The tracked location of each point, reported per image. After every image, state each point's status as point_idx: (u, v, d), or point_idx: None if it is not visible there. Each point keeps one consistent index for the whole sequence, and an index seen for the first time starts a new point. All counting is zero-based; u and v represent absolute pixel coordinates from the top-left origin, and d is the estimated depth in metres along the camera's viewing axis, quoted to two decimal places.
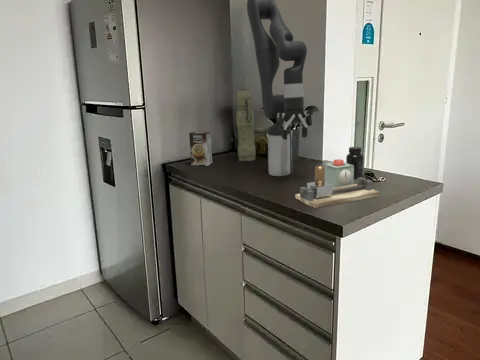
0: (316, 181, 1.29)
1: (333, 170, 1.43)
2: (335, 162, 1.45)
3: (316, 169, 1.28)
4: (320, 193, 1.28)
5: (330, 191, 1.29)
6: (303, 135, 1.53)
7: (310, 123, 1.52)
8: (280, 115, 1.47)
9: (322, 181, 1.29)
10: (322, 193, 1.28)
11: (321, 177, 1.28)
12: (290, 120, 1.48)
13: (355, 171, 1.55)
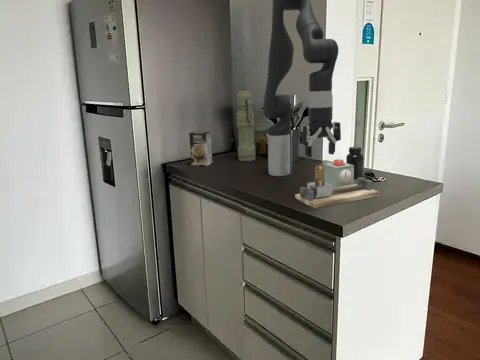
0: (316, 181, 1.29)
1: (333, 170, 1.43)
2: (335, 162, 1.45)
3: (316, 169, 1.28)
4: (320, 193, 1.28)
5: (330, 191, 1.29)
6: (330, 152, 1.29)
7: (339, 137, 1.27)
8: (304, 128, 1.22)
9: (322, 181, 1.29)
10: (322, 193, 1.28)
11: (321, 177, 1.28)
12: (316, 134, 1.23)
13: (355, 171, 1.55)
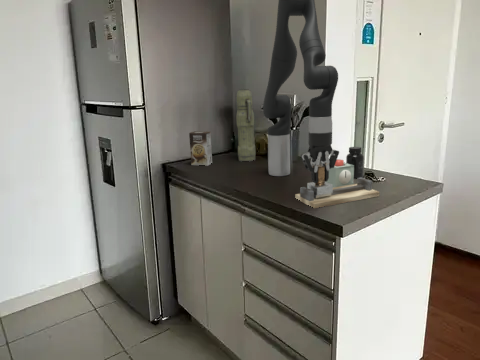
0: None
1: (333, 170, 1.43)
2: None
3: None
4: (320, 193, 1.28)
5: (330, 191, 1.29)
6: None
7: (332, 165, 1.29)
8: (305, 158, 1.25)
9: (322, 181, 1.29)
10: (322, 193, 1.28)
11: (321, 177, 1.28)
12: (318, 160, 1.26)
13: (355, 171, 1.55)
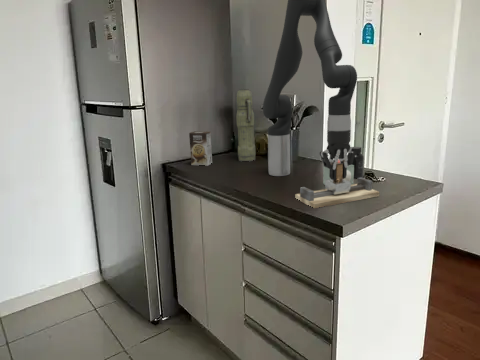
0: None
1: None
2: None
3: None
4: (338, 190, 1.30)
5: (348, 188, 1.31)
6: None
7: (350, 162, 1.31)
8: (324, 155, 1.27)
9: (340, 178, 1.31)
10: (340, 190, 1.30)
11: (339, 174, 1.31)
12: (337, 157, 1.28)
13: (355, 171, 1.55)
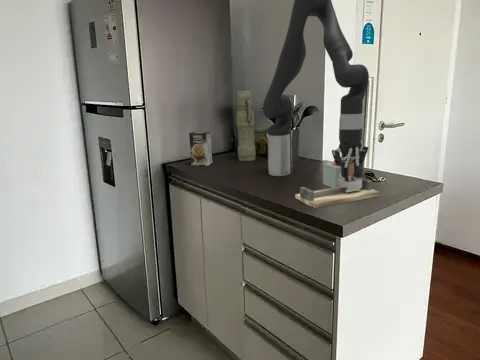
0: None
1: (333, 170, 1.43)
2: None
3: None
4: (350, 188, 1.32)
5: (360, 186, 1.33)
6: None
7: (362, 161, 1.33)
8: (337, 153, 1.29)
9: (352, 176, 1.33)
10: (352, 188, 1.32)
11: (351, 172, 1.32)
12: (348, 155, 1.30)
13: None
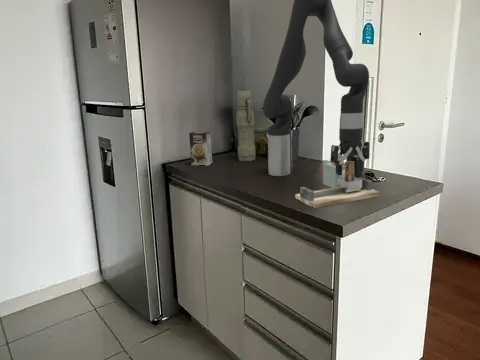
0: (346, 176, 1.33)
1: (333, 170, 1.43)
2: None
3: (346, 164, 1.32)
4: (350, 188, 1.32)
5: (360, 186, 1.33)
6: (359, 169, 1.35)
7: (367, 156, 1.34)
8: (336, 148, 1.28)
9: (352, 176, 1.33)
10: (352, 188, 1.32)
11: (351, 172, 1.32)
12: (347, 154, 1.30)
13: (355, 171, 1.55)
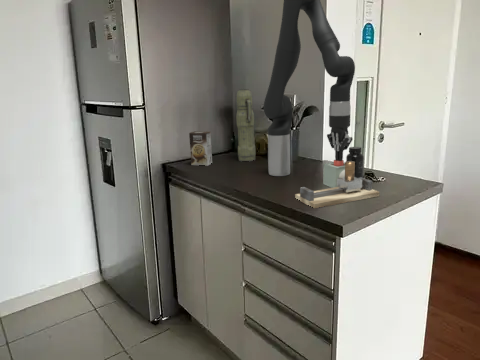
0: (346, 176, 1.33)
1: (333, 170, 1.43)
2: (335, 162, 1.45)
3: (346, 164, 1.32)
4: (350, 188, 1.32)
5: (360, 186, 1.33)
6: None
7: (340, 147, 1.41)
8: (327, 136, 1.48)
9: (352, 176, 1.33)
10: (352, 188, 1.32)
11: (351, 172, 1.32)
12: (333, 139, 1.44)
13: (355, 171, 1.55)
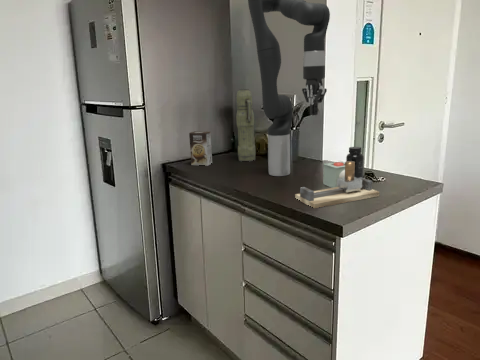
0: (346, 176, 1.33)
1: (333, 170, 1.43)
2: (335, 164, 1.45)
3: (346, 164, 1.32)
4: (350, 188, 1.32)
5: (360, 186, 1.33)
6: None
7: (314, 100, 1.36)
8: (303, 91, 1.43)
9: (352, 176, 1.33)
10: (352, 188, 1.32)
11: (351, 172, 1.32)
12: (308, 92, 1.39)
13: (355, 171, 1.55)
